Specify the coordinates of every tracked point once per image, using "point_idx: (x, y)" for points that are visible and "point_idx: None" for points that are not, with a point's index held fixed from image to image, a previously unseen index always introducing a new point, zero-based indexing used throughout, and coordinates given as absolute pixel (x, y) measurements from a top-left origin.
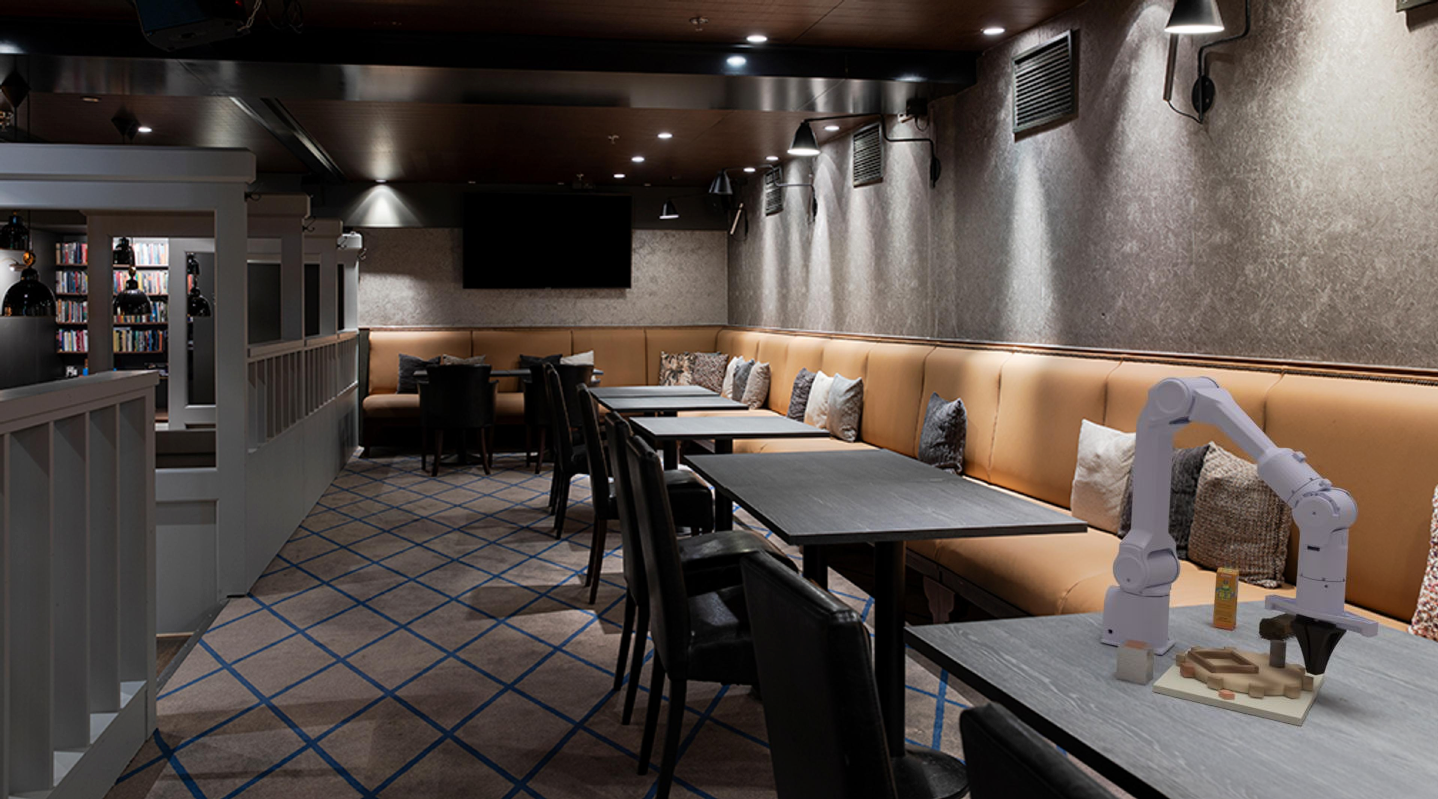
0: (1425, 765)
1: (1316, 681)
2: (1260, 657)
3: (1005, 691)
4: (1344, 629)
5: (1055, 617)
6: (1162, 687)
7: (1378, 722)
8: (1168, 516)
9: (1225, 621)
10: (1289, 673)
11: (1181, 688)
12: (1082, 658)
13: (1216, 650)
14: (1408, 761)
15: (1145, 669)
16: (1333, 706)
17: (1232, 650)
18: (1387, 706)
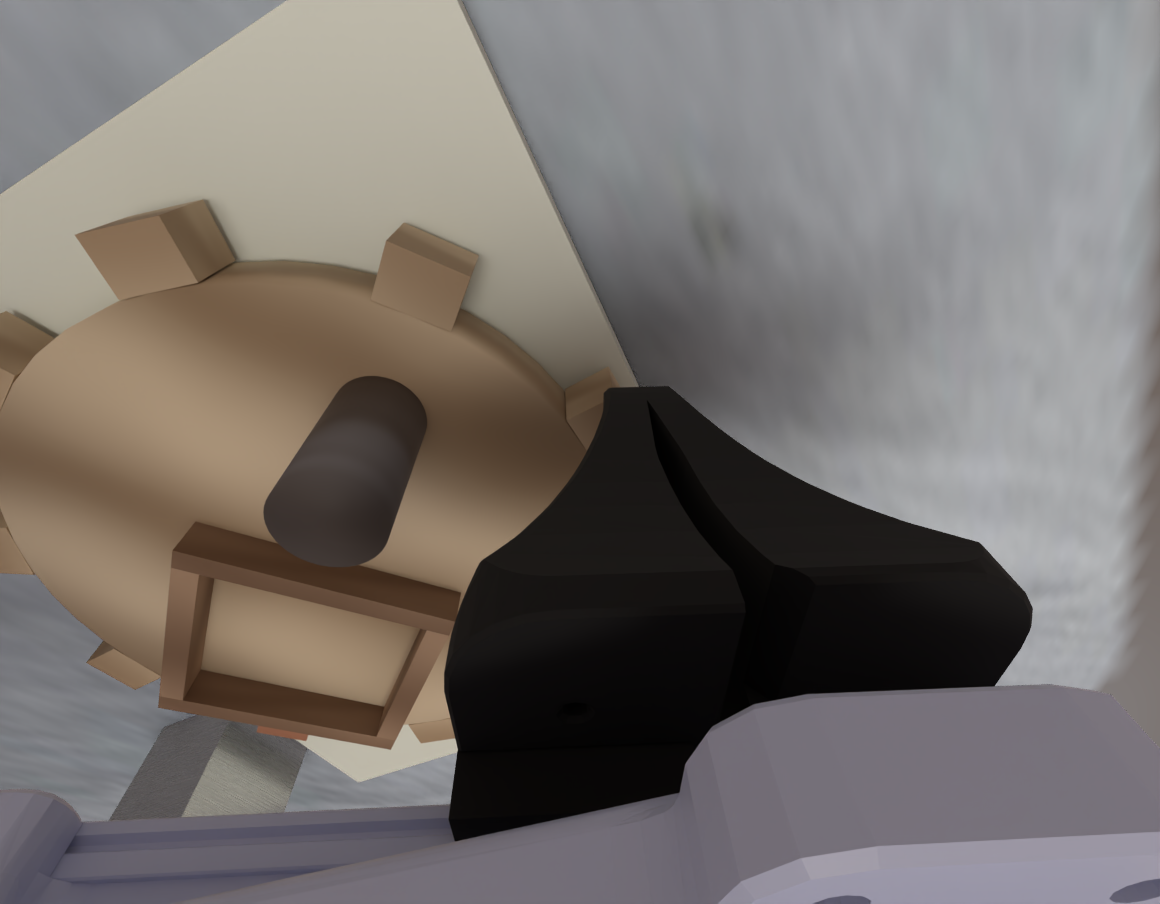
0: (1125, 578)
1: (533, 215)
2: (203, 371)
3: None
4: (1004, 654)
5: None
6: (382, 772)
7: (943, 378)
8: None
9: None
10: (512, 466)
11: (409, 748)
12: (9, 750)
13: (43, 500)
14: (1076, 593)
15: (284, 804)
16: (733, 380)
17: (34, 416)
18: (935, 70)
